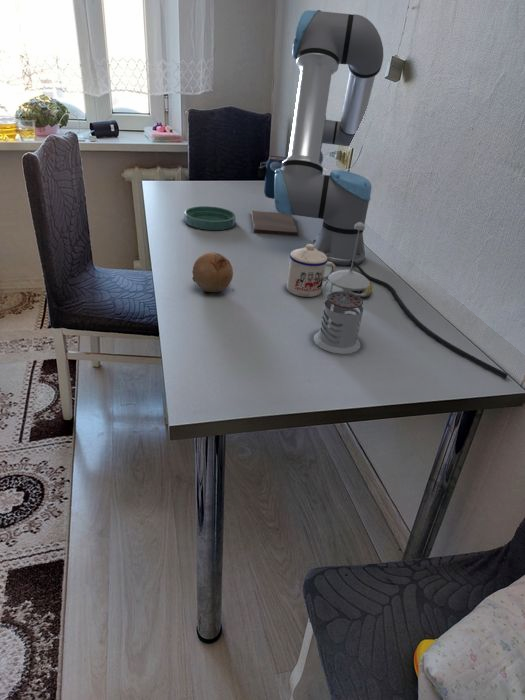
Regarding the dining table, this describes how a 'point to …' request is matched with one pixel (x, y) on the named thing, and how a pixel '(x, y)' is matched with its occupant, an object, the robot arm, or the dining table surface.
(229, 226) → the bowl
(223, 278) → the onion
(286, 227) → the board
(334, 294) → the french press
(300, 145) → the robot arm
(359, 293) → the pastry
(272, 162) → the soda can
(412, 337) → the dining table surface
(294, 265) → the teacup with lid
